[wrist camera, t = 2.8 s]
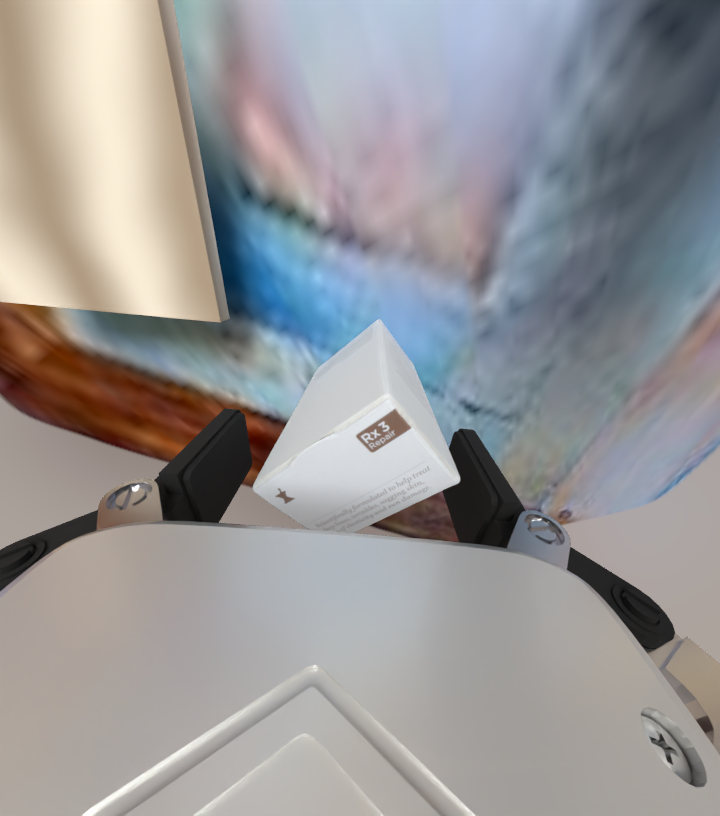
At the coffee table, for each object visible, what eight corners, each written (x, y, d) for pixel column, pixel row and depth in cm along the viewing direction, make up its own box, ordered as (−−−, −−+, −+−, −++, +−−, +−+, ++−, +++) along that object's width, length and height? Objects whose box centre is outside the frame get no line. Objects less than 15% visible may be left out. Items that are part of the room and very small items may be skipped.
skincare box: (352, 405, 21) (331, 555, 10) (314, 365, 19) (241, 494, 9) (416, 360, 18) (471, 492, 8) (379, 310, 17) (387, 395, 6)
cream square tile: (212, 19, 11) (139, -90, 8) (251, 309, 17) (220, 322, 14) (-61, -7, 11) (-259, -127, 8) (75, 293, 17) (0, 301, 14)
